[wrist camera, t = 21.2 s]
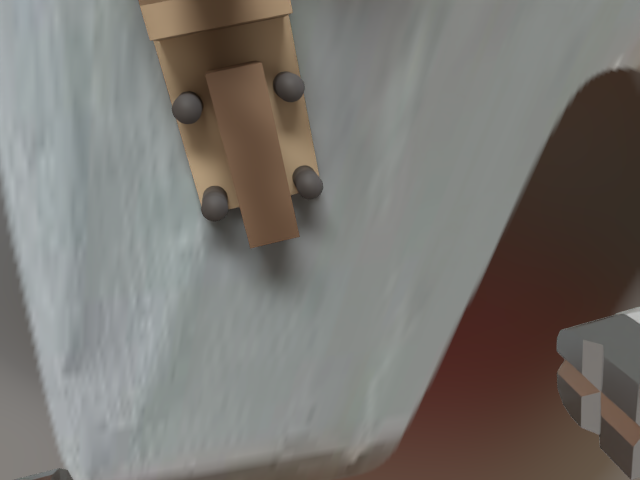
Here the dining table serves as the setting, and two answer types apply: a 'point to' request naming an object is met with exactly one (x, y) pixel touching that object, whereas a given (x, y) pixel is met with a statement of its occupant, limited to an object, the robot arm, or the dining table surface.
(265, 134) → the bar
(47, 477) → the robot arm
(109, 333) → the dining table surface
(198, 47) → the board
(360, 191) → the dining table surface
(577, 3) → the dining table surface
